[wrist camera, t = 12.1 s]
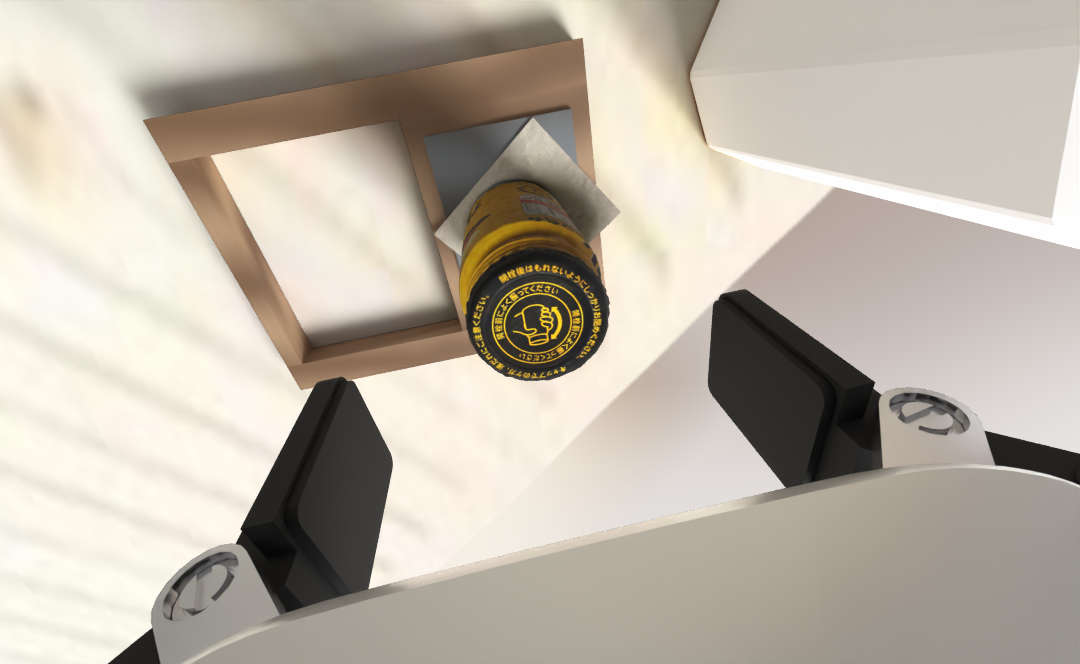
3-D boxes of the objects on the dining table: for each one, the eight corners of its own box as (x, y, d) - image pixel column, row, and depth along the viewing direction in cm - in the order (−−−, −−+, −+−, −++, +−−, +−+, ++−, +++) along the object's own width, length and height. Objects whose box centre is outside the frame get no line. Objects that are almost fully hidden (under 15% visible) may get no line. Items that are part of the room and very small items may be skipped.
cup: (904, 54, 25) (1663, -19, 9) (755, 202, 28) (1110, 341, 12) (813, -124, 20) (2026, -922, 4) (649, 78, 24) (994, 43, 8)
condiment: (434, 233, 24) (399, 335, 14) (532, 116, 22) (578, 135, 12) (524, 306, 27) (550, 433, 17) (619, 210, 25) (716, 291, 15)
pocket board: (169, 118, 22) (138, 120, 20) (574, 42, 22) (583, 37, 20) (311, 373, 31) (299, 392, 29) (601, 313, 31) (609, 328, 29)
